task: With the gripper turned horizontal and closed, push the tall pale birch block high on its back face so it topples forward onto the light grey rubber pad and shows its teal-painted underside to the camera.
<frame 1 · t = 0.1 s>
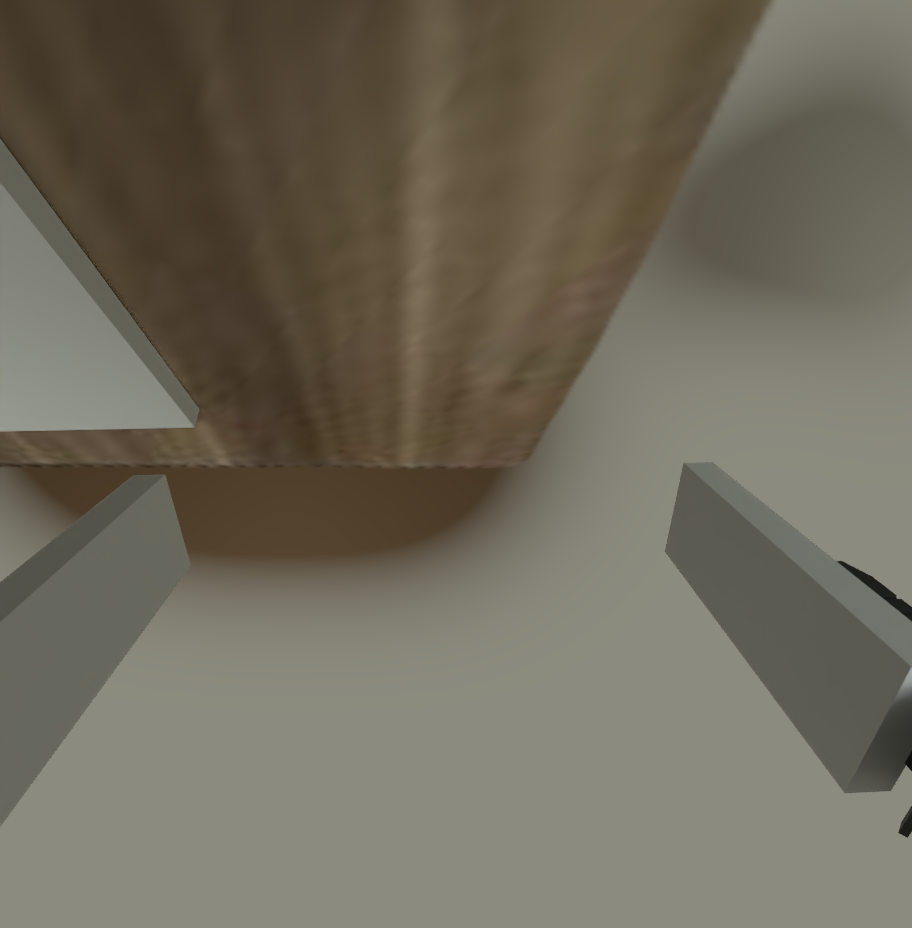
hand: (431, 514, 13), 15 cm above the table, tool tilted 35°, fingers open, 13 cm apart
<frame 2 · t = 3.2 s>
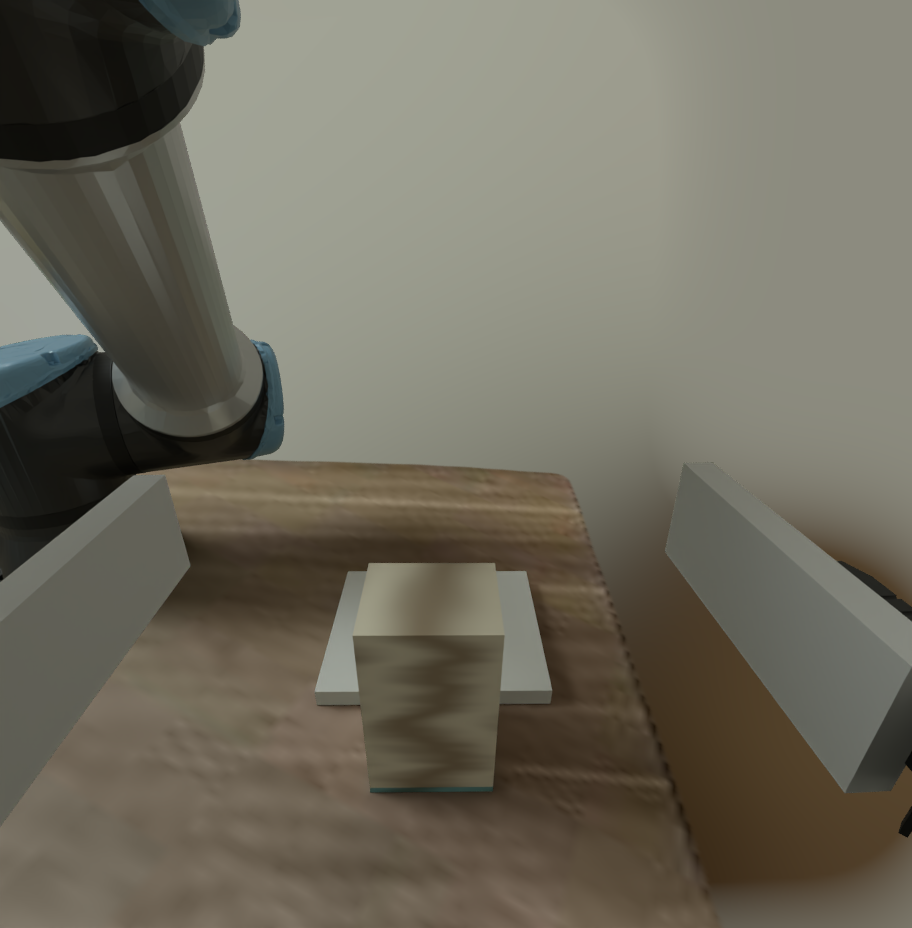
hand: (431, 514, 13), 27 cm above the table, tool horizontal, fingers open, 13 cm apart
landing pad: (436, 635, 44), on the table
birch block: (432, 747, 35), on the table
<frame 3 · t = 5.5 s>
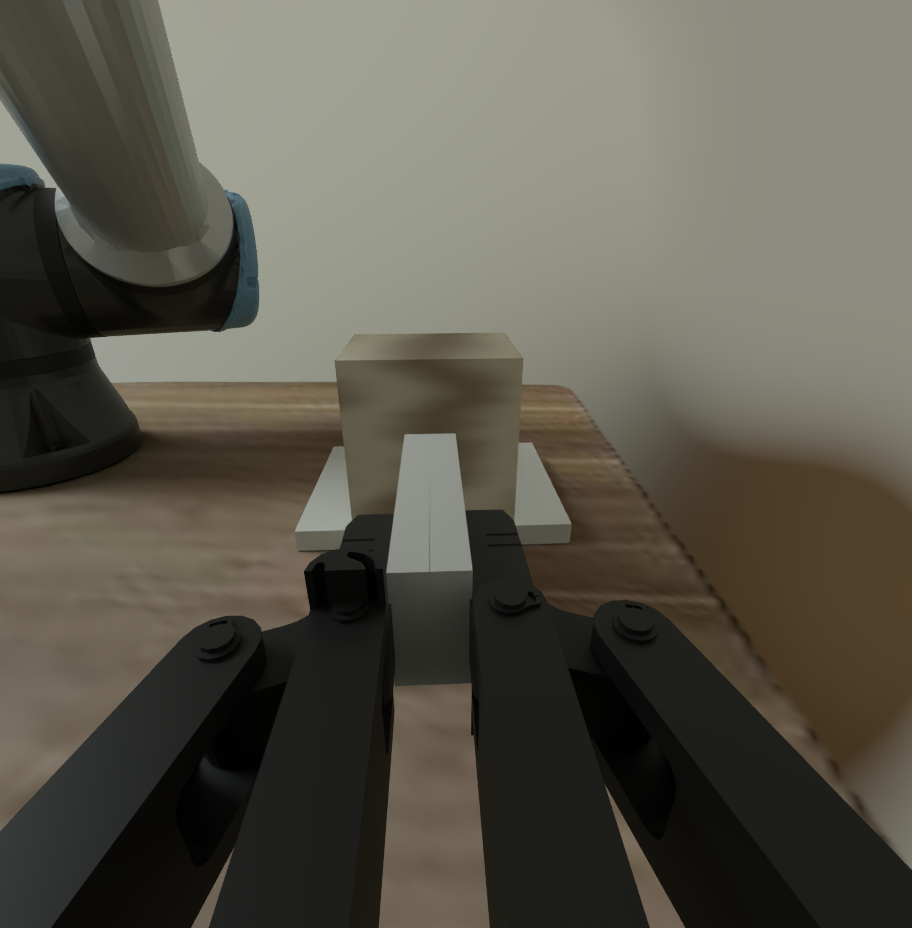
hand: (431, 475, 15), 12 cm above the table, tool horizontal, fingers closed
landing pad: (434, 496, 39), on the table
birch block: (435, 580, 29), on the table
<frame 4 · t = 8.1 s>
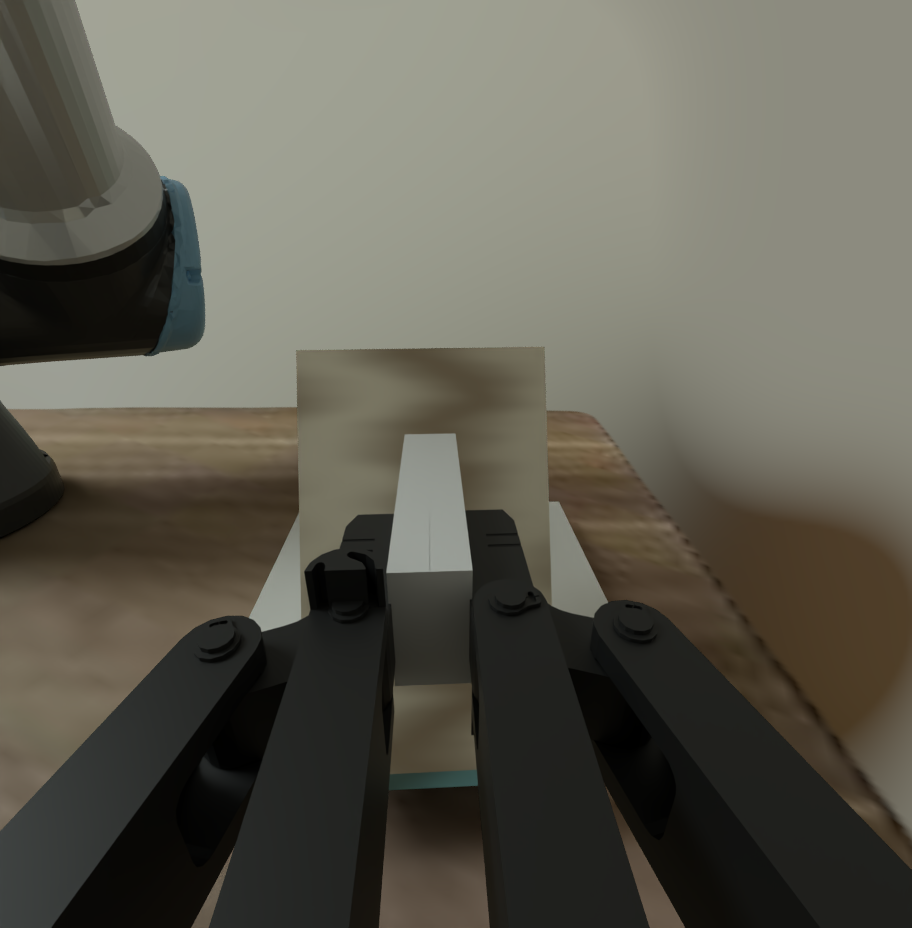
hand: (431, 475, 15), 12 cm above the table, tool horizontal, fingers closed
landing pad: (432, 587, 29), on the table
birch block: (432, 737, 19), point 1 cm above the table, tilted 26°, touching gripper, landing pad
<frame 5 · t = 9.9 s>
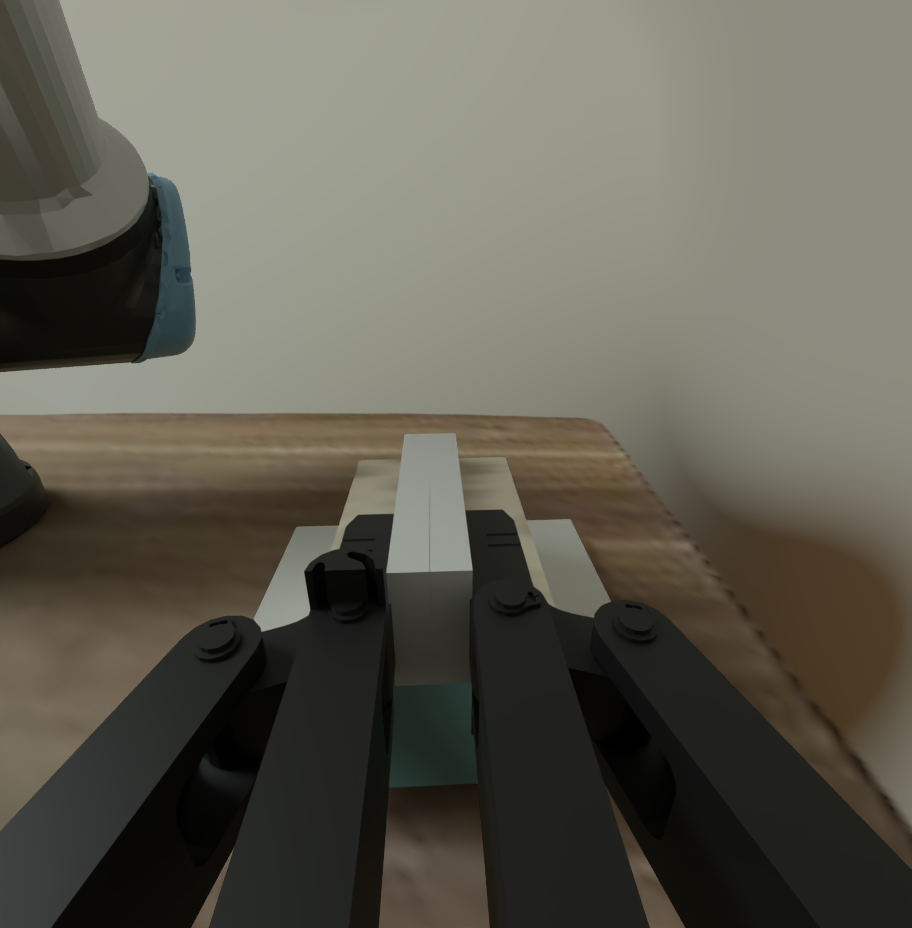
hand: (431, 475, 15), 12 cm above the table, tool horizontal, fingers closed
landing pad: (436, 615, 27), on the table
birch block: (436, 725, 16), point 4 cm above the table, tilted 90°, touching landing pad
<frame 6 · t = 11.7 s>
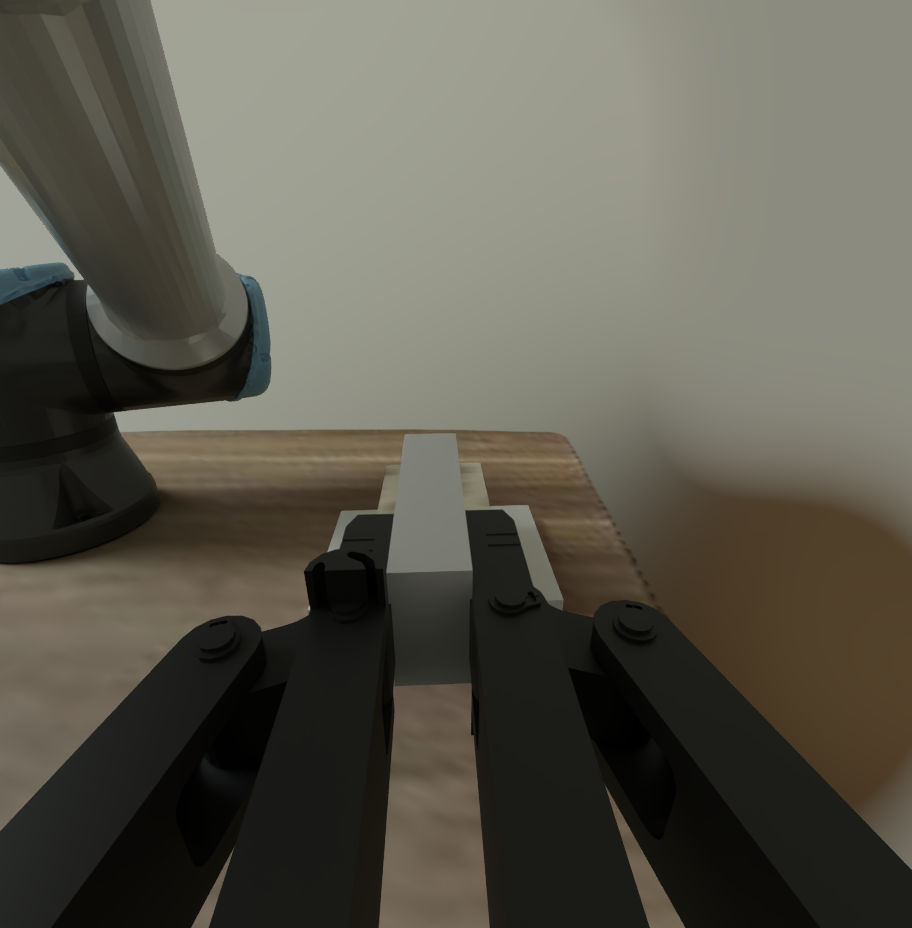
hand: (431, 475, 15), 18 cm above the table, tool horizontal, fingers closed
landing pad: (436, 563, 41), on the table
birch block: (435, 598, 31), point 4 cm above the table, tilted 90°, touching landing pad
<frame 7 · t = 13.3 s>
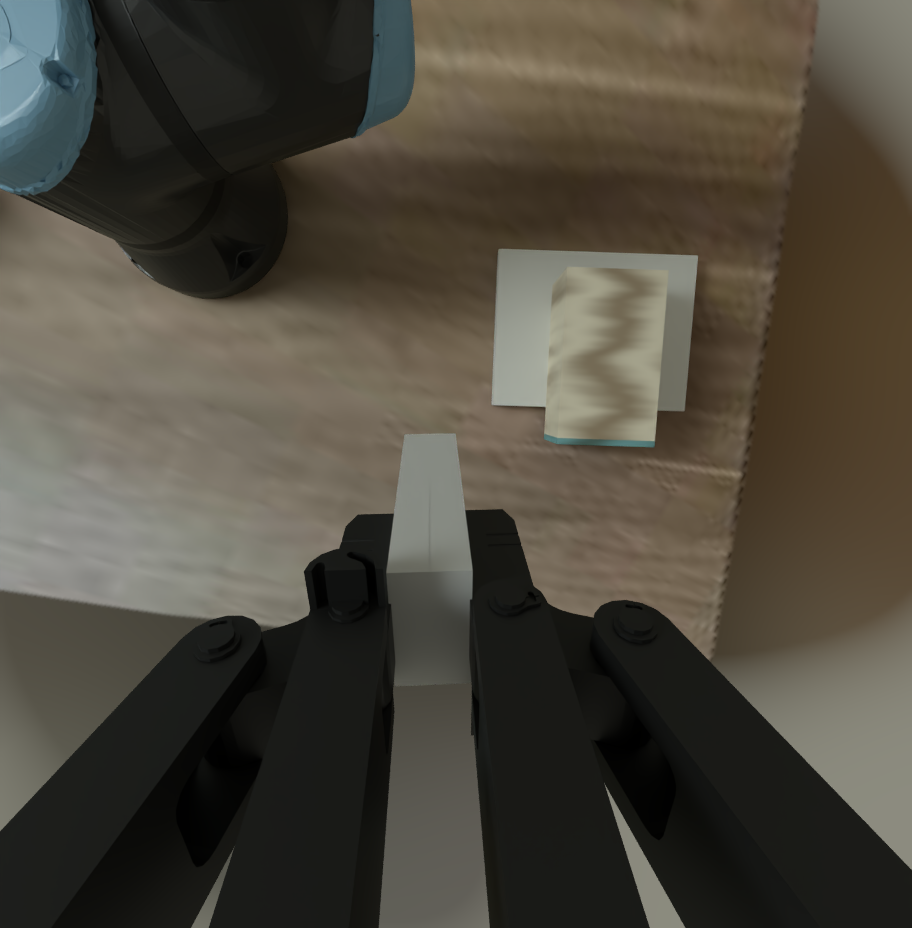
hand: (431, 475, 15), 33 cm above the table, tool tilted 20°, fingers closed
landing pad: (589, 333, 47), on the table
birch block: (595, 442, 43), point 4 cm above the table, tilted 90°, touching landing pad
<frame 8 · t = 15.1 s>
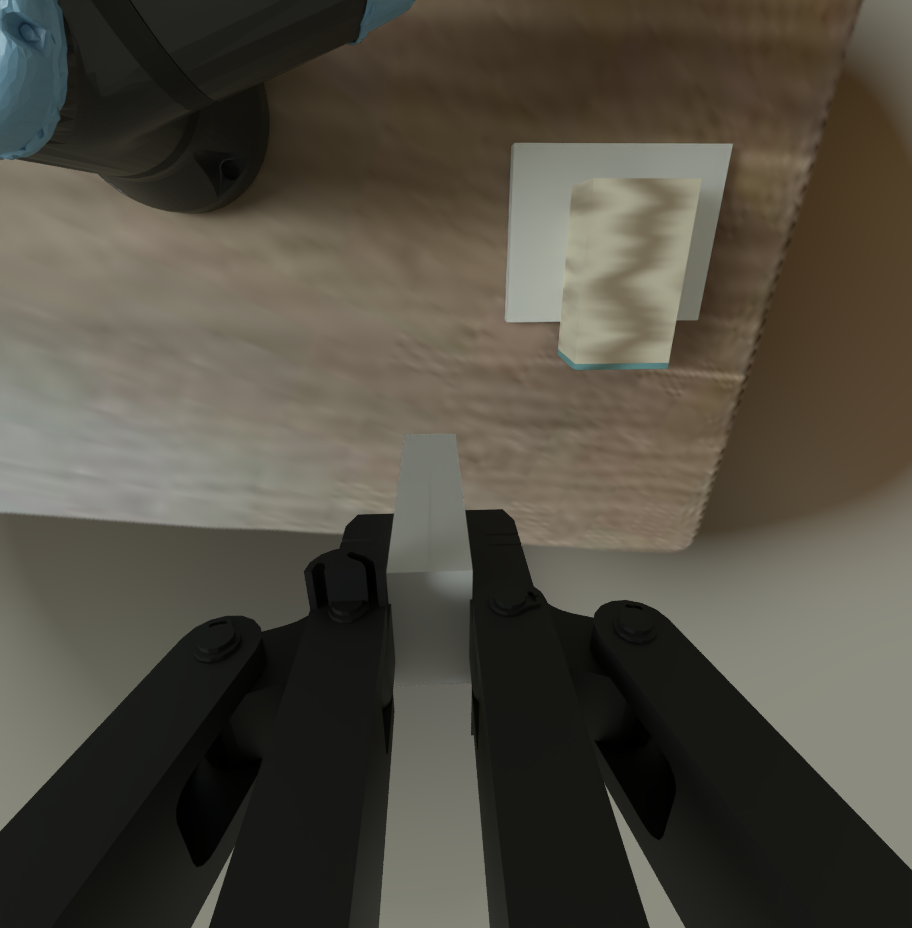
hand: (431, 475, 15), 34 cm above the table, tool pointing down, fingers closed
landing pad: (607, 238, 44), on the table
birch block: (609, 361, 44), point 4 cm above the table, tilted 90°, touching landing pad
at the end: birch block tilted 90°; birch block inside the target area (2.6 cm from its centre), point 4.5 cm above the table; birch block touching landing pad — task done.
